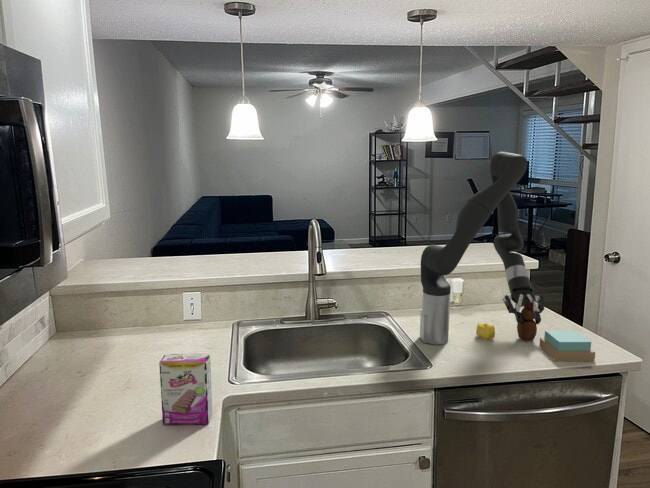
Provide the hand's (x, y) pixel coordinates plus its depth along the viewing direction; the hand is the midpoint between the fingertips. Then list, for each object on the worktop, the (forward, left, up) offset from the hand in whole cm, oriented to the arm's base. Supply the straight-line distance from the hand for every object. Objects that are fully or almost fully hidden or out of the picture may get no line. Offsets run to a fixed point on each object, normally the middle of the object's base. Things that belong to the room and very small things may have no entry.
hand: (529, 323), depth 167 cm
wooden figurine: (0, +2, -7) cm, 7 cm away
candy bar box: (-104, -49, -7) cm, 115 cm away
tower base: (+8, -10, -7) cm, 15 cm away
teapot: (-13, +4, -7) cm, 15 cm away
